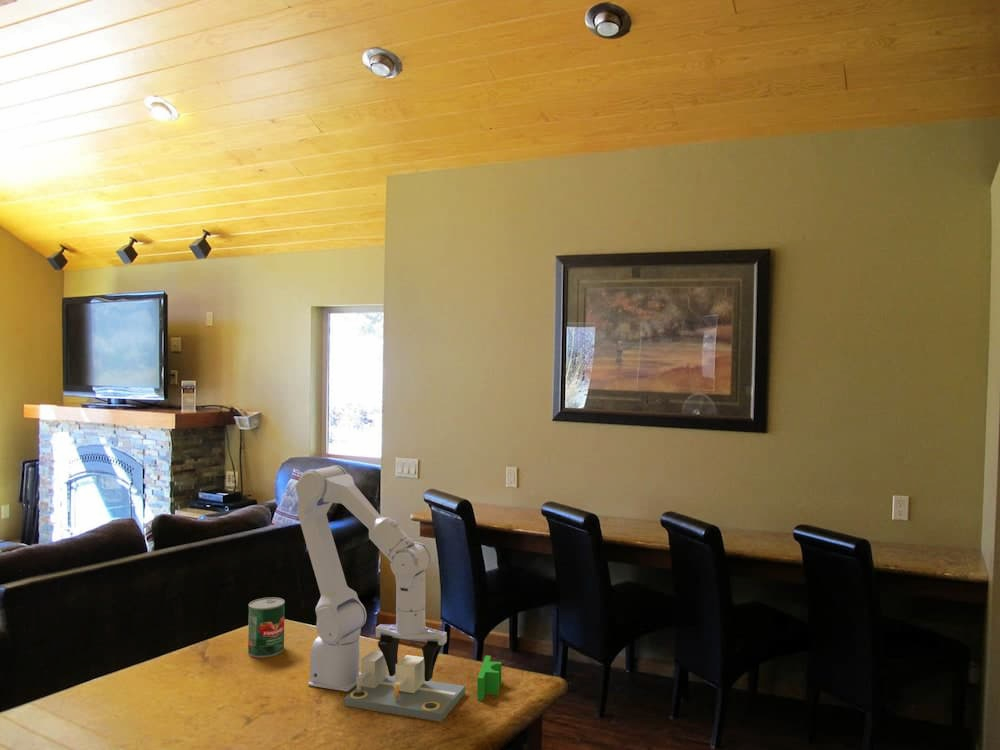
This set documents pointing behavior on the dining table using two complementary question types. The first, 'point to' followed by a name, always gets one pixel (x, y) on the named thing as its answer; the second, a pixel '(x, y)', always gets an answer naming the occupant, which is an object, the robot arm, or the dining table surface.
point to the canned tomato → (266, 627)
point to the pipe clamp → (489, 678)
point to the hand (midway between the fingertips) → (410, 676)
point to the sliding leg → (409, 675)
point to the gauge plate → (400, 693)
